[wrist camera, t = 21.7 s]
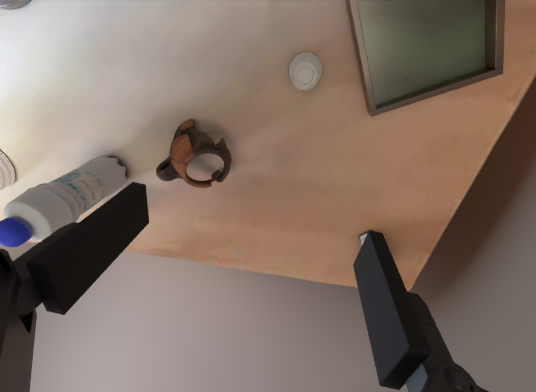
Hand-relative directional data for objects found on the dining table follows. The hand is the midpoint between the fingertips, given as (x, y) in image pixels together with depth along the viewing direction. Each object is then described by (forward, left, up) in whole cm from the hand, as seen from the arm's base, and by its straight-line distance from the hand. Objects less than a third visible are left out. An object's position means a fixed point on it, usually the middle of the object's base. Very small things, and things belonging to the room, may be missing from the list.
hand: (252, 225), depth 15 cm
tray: (-7, +19, -27) cm, 34 cm away
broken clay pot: (0, -15, -27) cm, 31 cm away
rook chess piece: (-5, +5, -27) cm, 28 cm away
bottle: (-2, -32, -27) cm, 42 cm away
